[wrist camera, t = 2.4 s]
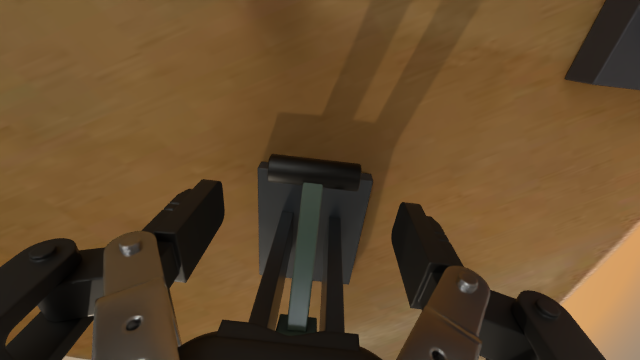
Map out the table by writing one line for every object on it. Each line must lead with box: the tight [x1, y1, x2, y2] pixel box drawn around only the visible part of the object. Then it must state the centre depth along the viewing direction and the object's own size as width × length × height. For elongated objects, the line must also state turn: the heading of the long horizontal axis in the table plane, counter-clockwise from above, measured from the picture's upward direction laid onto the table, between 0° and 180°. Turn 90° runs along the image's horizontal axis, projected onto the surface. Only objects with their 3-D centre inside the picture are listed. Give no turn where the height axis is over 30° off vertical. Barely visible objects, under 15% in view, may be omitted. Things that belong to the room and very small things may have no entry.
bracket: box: [249, 162, 373, 333], centre depth 18 cm, size 12×9×13 cm
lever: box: [267, 154, 361, 336], centre depth 14 cm, size 12×5×2 cm, turn 174°
